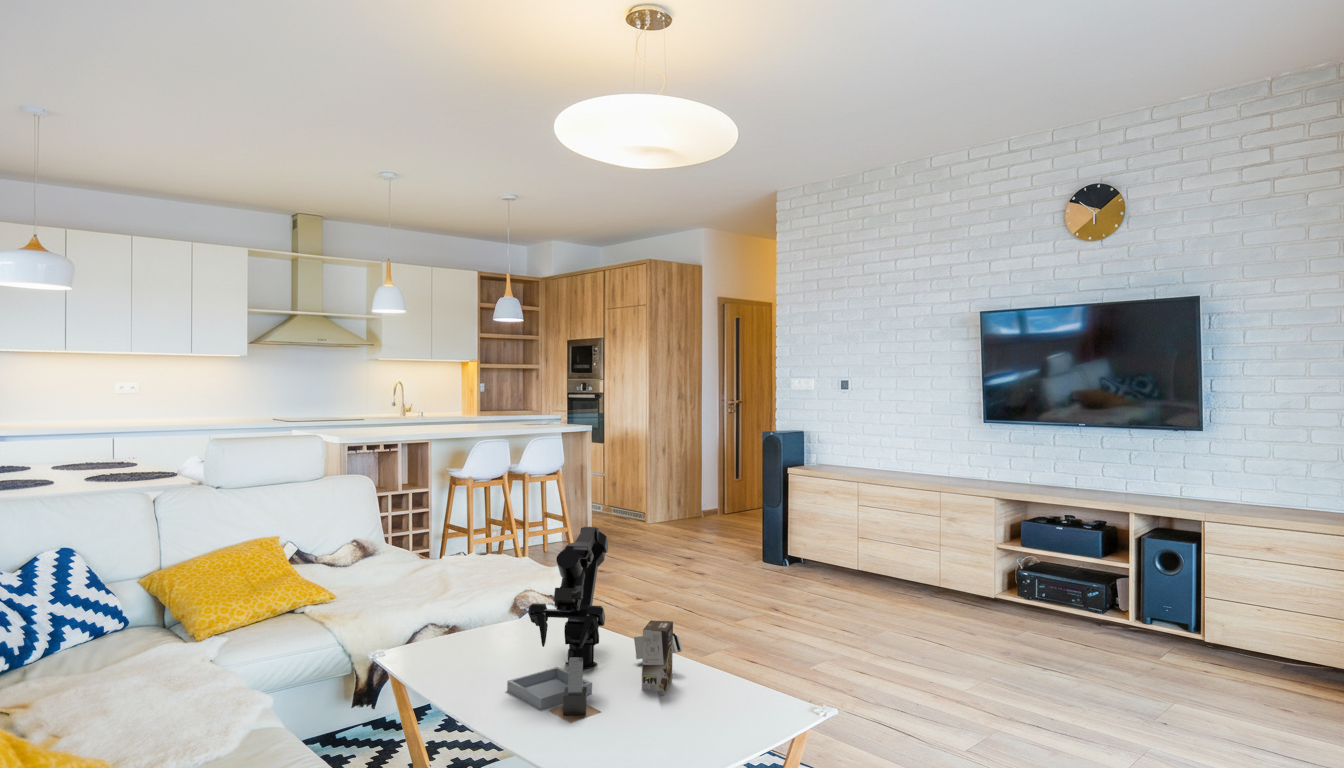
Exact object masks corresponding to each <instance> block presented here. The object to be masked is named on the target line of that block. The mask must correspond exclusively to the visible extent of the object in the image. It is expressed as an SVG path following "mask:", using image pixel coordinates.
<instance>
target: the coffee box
mask: <svg viewBox="0 0 1344 768" xmlns="http://www.w3.org/2000/svg"><path fill="white" fill-rule="evenodd" d="M642 632H643V633H642V636H643V656H642V657H643V658H642V663H641V669H642V671H641V690H642V691H643V690H644V691H653V692H657V694H658V695H659V696H666V694H667V692H668V690H669V689H670V687H671V685H672V684H673V654H674V653H673V633H674V621H669V620H649V622H648V623H647V624H646V625H645V627H644V628H643V629H642Z"/></svg>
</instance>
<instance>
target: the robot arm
mask: <svg viewBox="0 0 1344 768" xmlns="http://www.w3.org/2000/svg"><path fill="white" fill-rule="evenodd" d="M579 532H580V533H579V534H578V536H577V538H576V539H575V541H574V542H571V543H568V544H567V545H565V547H564V548H563V549H562V551H560V552H559V553H558V555H557V556H556V565H557V567H558V571H559V574H560V577H562V578H561V583H560V586H559V587H555V588H554V592H553V593H554V594H553V602H554V607H555V608H556V609H553V608H551V609H549V608H547V605H546V603H536V602H535V603H534V602H532V603H531V604H530V605H529V607H528V611H527V614H528V616H529V620H530V622H531V623H532V624H535V626H536V627H539V634H540V641H541V645H542V646H541V647H545V645H546V642H547V641H546V640H547V634H548V627H549V626H548V625H549V624H548V621H549V620H548V619H549V618H553V619H556V618H557V619H558V618H561V619H567V621H566V622H565V624H564V633H563V634H564V642H565V643H564V645H569V648H568V649H567V661H565V665H567V666H568V667H569V657H583V670H585V669H588V668H591V667H594V666H597V665H598V663H597V662H595V660H594V659H595V654H594V653H595V652H594V651H595V646H596V645H598V644H599V643H600V634H599V627H603V626H605V622H606V621H605V620H606V614H605V609H604V607H603V606H602V605H593V602H594V596H595V595H594V594H595V589H596V583H597V574H598V568H599V567H600V566H601V564H602V563H604V561H605V557H606V554H607V553H608V550H609V542H608V538H607V535H605V534H604V533H602V531H600V529H599V528H598V527H597V526H583V527H581V528H580V531H579Z"/></svg>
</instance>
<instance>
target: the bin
mask: <svg viewBox="0 0 1344 768" xmlns="http://www.w3.org/2000/svg"><path fill="white" fill-rule="evenodd" d="M506 685H507V686H506V690H507V692H508V693H510V694H512V695H514V696H516V697H517V698H519V699H520V700H523V701H524V702H526V703H529V704H530V705H532V706H534V707H535V708H537V709H538V710H544V709H547V708H551V707H554V706H558V705H560V704H563V695H564V690H565V687H568V670H565V669H563V668H561V667H559V666H556V667H555V666H554V667H553V668H549V669H545V670H541V671H537V672H534V673H529V674H527V675H523V676H520V677H515V678H513V679H509V680H507V684H506ZM583 687H587V696H589V695H592V694H593V692H592V691H593V683H592V682H591V681H589V680H586V679H584V678H583Z"/></svg>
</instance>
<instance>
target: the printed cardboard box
mask: <svg viewBox="0 0 1344 768" xmlns="http://www.w3.org/2000/svg"><path fill="white" fill-rule="evenodd" d="M633 640H634V641H633V642H634V647H635V656H636V657H635V659H636V660H641V659H642V658H643V657H642V656H643V635H636V636H634V637H633ZM683 651H684V649H683V646H682V643H681V640H680V636H679V635H678V634H677V633H675V632H673V654H674V653H676V654H677V653H681V652H683Z"/></svg>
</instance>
